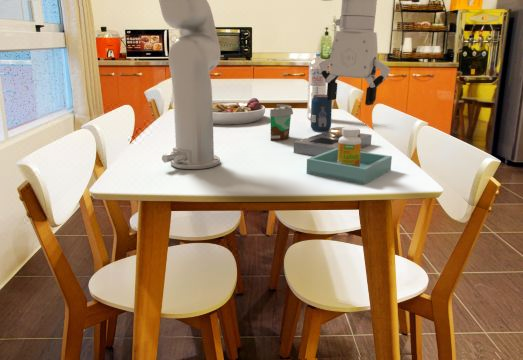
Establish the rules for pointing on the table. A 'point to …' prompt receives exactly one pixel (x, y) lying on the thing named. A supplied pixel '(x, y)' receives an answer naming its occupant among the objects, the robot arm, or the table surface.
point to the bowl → (237, 112)
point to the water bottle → (315, 81)
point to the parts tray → (349, 167)
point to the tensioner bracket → (325, 142)
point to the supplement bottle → (349, 147)
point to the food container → (280, 122)
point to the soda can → (321, 113)
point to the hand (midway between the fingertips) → (350, 102)
